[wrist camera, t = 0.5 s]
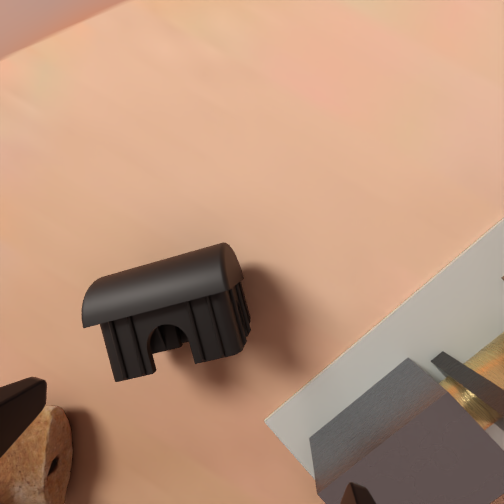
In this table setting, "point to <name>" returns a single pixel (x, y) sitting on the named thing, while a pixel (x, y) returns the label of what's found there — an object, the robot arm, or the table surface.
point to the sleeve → (407, 446)
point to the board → (407, 342)
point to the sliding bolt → (477, 382)
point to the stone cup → (38, 461)
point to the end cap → (170, 310)
